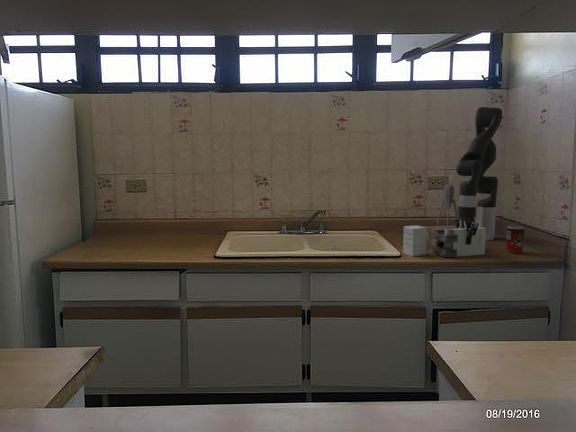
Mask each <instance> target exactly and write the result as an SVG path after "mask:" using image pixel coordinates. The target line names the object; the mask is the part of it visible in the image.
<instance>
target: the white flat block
mask: <svg viewBox="0 0 576 432" xmlns="http://www.w3.org/2000/svg"><path fill="white" fill-rule="evenodd" d="M468 229H470V228H468ZM469 232H470V231H469ZM473 232H474V231H473ZM444 235H458V240H457V242H444V250H454V249H457V256H454V257H466V256H467V257H470V256H483V255H485V253H486V241H487V240H486V228H483V227H478V228H477V231H476V235H473V236H472V241H471V244H470V245H467V244H466V231H465V228H458V229H445V231H444Z"/></svg>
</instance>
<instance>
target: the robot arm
mask: <svg viewBox="0 0 576 432" xmlns="http://www.w3.org/2000/svg"><path fill="white" fill-rule="evenodd" d="M474 119H475V120H474V123H475V135H476V136H475V137H474V138H473V139H472V141H471V142H470V144H469V147H468V148H467V151H466V153H464V155H463V156H462V157H461V158H460V159H459V160H458V161H457V164H456V168H455V171H456V173H457V175H459V176H462V177H471V178H470V179H469V180H467V181H462V182H460V184H459V192H458V193H459V195H458V206H457V216H459V218H458V219H456V218H455V219H454V223H455V224H454V225H456V229H458V228H465V231H466V244H467V245H470V244H471V241H472V236H473V235H476V231H477V228H478V227H483V228H486V240H485V241H490V240H491V241H493V240H495V231H496V228H495V227H496V213H497V211H496V209H497V195H498V193H497V192H498V188H499V180H498V177H497V176H488V175H487V176H484V175H485V174H486V172H487V171H488V169H490V168H491V167H492V165H494V163H495V161H496V160H497V146H496V144H495V142H494V141H493V137H494V136H495V134H496V132H497V131H498V129H499V127H500V125H501V123H502V119H503V110H502V109H501V108H498V107H486V106H481V107H478V109H476V112H475V117H474ZM477 194H483V195H485V194H486V195H489V196H488V197H486V198H484V199H480V200H477V199H478V198H477ZM475 217H476V218H475ZM468 228H470V229H468ZM469 231H470V232H469ZM473 231H474V232H473Z"/></svg>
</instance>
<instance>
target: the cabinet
mask: <svg viewBox="0 0 576 432" xmlns="http://www.w3.org/2000/svg"><path fill="white" fill-rule="evenodd" d="M424 227H425V228H426V250H427V251H430V252H431V253H433V254H435V255H439V256H441V257H444V258H451V257H454V256H455V257H458V256H457V249H454V250H444V242H457V240H458V235H444V231H445V229H456V224H454V225H453V224H452V225H449V226H447V225H438V226H437V225H433V226H424Z"/></svg>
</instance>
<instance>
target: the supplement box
mask: <svg viewBox="0 0 576 432" xmlns="http://www.w3.org/2000/svg"><path fill="white" fill-rule="evenodd" d="M425 227H426V226H421V225H406V226H403V243H402V245H403V246H402V253H403V254H404V255H408V256H410V257H419V256H426V255H427V254H426V253H427V251H426V250H427V249H426V228H425Z"/></svg>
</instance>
